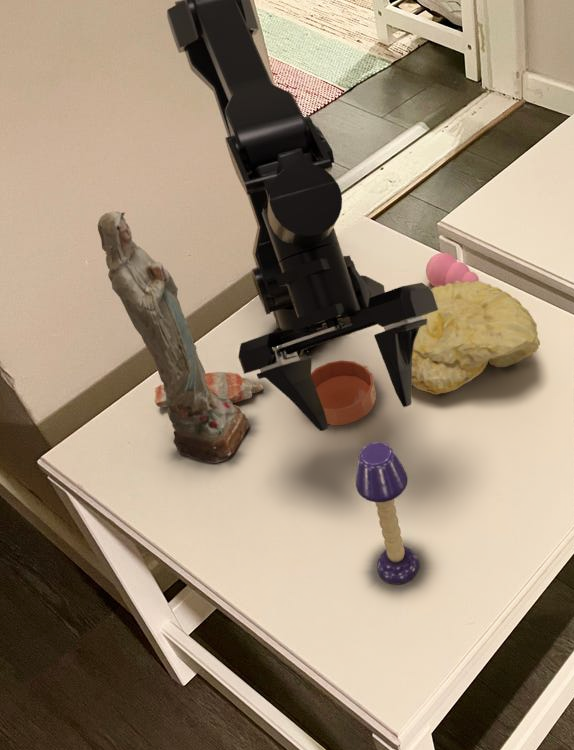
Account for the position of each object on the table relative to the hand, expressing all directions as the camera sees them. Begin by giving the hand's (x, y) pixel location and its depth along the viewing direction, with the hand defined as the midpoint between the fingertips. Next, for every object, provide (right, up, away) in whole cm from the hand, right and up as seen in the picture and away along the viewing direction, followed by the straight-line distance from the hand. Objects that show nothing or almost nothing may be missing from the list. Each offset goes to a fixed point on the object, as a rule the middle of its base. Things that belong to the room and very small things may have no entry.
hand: (365, 418), depth 85 cm
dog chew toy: (+5, +22, +32) cm, 40 cm away
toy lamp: (+3, -14, +6) cm, 16 cm away
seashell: (+10, +8, +23) cm, 26 cm away
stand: (-5, +4, +21) cm, 22 cm away
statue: (-19, -1, +19) cm, 27 cm away
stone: (-21, +3, +20) cm, 29 cm away
